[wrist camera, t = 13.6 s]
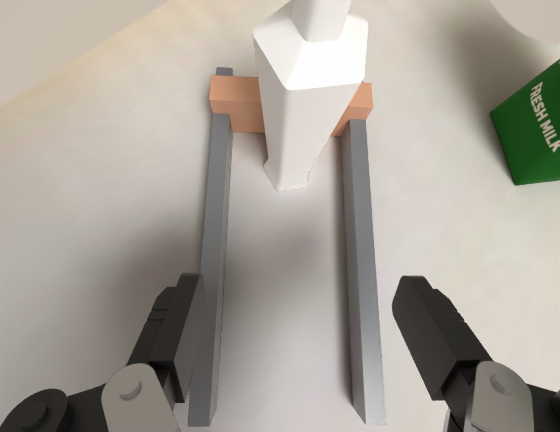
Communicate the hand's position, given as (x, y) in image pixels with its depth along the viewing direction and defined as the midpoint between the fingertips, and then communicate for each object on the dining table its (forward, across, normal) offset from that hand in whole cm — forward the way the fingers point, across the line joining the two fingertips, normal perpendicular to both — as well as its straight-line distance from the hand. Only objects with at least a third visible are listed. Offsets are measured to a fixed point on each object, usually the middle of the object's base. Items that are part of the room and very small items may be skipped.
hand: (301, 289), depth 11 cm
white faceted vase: (+13, 0, 0) cm, 13 cm away
